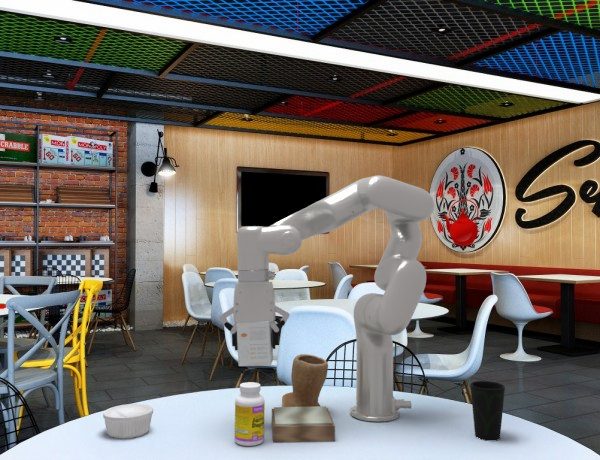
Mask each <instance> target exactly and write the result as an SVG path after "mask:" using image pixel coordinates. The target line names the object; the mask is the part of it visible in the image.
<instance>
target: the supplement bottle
mask: <svg viewBox="0 0 600 460" xmlns="http://www.w3.org/2000/svg"><path fill="white" fill-rule="evenodd" d="M239 392H240V394H239V395H238V396H236V398H235V400H234V442H235V443H236V444H237V445H240V446H242V447H243V446H244V447H254V446H255V447H256V446H258V445H260V444H262V443H263V442H264V440H265V407H266V406H265V398H264V396H263V395H261V394H260V392H261V384H260V383H259V382H253V381H252V382H250V381H248V382H242V383H240V384H239Z"/></svg>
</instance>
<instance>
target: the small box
mask: <svg viewBox="0 0 600 460" xmlns="http://www.w3.org/2000/svg"><path fill="white" fill-rule="evenodd" d="M236 326H237V345H238V350H237V360H238V361H237V363H238V364H237V365H238V367H255V366H256V367H257V366H260V367H261V366H271V365H272V363H273V361H274V349H273V347H272V331H273V329H272V327H271V326H270V323H269V321H265V322H250V323H236Z"/></svg>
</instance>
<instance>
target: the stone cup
mask: <svg viewBox="0 0 600 460" xmlns="http://www.w3.org/2000/svg"><path fill="white" fill-rule="evenodd" d="M291 365H292V366H291V376H290V379H291V386H292V391H291V392H287V393H285V394H283V395H282V397H281V402H282V407H320V406H321V405H320V403H319V397H320V394H321V391H322V389H323V387H324V384H325V382H326V380H327V377H328V368H329V363H328V361H327V359H324V358H322V357H321V356H317V355H313V354H307V353H304V354H303V353H302V354H301V353H300V354H297V355H296V356H295V357H294V358H293V361H292V364H291Z"/></svg>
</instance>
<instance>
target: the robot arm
mask: <svg viewBox="0 0 600 460" xmlns="http://www.w3.org/2000/svg"><path fill="white" fill-rule="evenodd" d="M373 210H383V211H384V214H385V216H386V218H387V220H388V221H387V222H388V223H389V226H390V237H389V240H388V243H387V244H386V248H385V249H384V252H383V254H382V256H381V258H380V261H379V262H378V264H377V267H376V269H375V272H374V277H373V279H374V282H375V285H376V286H377V287H378V288H379V289H380V290H382V291H383V292H384V293H383V294H381V293H373V292H371V293H367V294H366V293H365V294H363V295H362V296H361V297H359V298H358V300H357V301H356V302H355V305H354V308H353V322H354V327H355V328H354V329H355V338H356V362H355V363H356V369H355V370H356V371H355V372H356V378H355V379H356V380H355V381H356V382H355V383H356V385H355V387H356V389H355V390H356V391H355V394H356V397H355V399H356V400H355V402H356V403H355V405H353V406H352V407H351V408H350V409H349V410H350V411H349V412H350V415H351V416H352V417H353V418H355V419H357V420H361V421H365V422H376V423H377V422H378V423H381V422H389V421H394V420H397V418H398V417H400V411H399V410H400V409H412V402H411V400H404V398H403V399H401V398H399V399H396V398H395V397H394V344H393V343H394V342H393V337H392V336H395V335H396V336H397V335H400V334H401V333H402V332H403V331H404V330H406V328H407V327H408V326H409V324H410V322H411V320H412V318H413V316H414V313H415V311H416V309H417V307H418V304H419V302H420V300H421V298H422V295H423V293H424V290H425V288H426V285H427V284H426V283H427V272H426V269H425V267H424V265H423V264H422V263H421V262H420V261H419V260H417V258H418V255H419V253H420V250H421V248H422V244H423V235H422V231H421V227H420V223H421V222H424V221H426V220H427V219H429V218H430V217H431V216H432V215H433V212H434V210H435V201H434V199H433V197H432V195H431V194H430V193H429V192H428V191H427V190H426V189H423V188H421V187H419V186H416V185H413V184H410V183H406V182H404V181H401V180H398V179H394V178H391V177H388V176H384V175H378V174H377V175H373V176H368V177H363V178H360V179H358V180H356V181H353V182H351V183H350V184H348V185H347V186H344V187H343V188H341V189H339V190H338V191H336V192H334V193H332V194H329V195H328V196H326V197H324V198H322V199H320V200H318V201H315V202H314V203H312V204H310V205H308V206H307V207H305V208H302V209H300V210H299V211H296V212H294V213H292V214H290V215H288V216H287V217H284V218H282V219H280V220H279V221H276V222H274V223H273V224H271V225H269V226H262V225H261V226H259V225H257V226H256V225H253V226H249V225H248V226H241V227H239V228H238V229H237V232H236V244H237V245H236V249H237V282H236V283H235V284H234V291H233V306H232V307H231V308H229V309H228V310H225V312H223V313H221V314H220V315H219V317H218V318H219V320H220V321H221V323H222V324H223V326H224V328H225V329H227V330H228V331H229V332H230V333H231V344H232V345H231V347H234V350H235V351H238V345H237V326H236V323H250V322H265V321H269V323H270V326H271V327H272V347H273V350H276V346H278V345H279V331H280V330H281V329H282V328H283V327H284V326H285V325H286V322H287V321H288V319H289V318H290V313H289V312H288V311H286V310H284V309H282V308H281V307H279V306H277V305H276V299H275V297H276V296H275V290H274V285H273V281H270V279H271V278H275V277H276V274H275V273H276V272H275V271H272V270H270V269H269V268H270V261H269V259H270V258H269V255H276V256H290V255H293V254H295V253H297V251H299V249H300V248H301V246H302V244H303V241H304V240H306V239H309V238H311V237H315V236H317V235H322V234H326V233H330V232H332V231H335V230H338V229H340V228H342V227H344V226H345V225H348V224H349V223H351V222H352V221H354V220H355V219H357V218H359V217H362V216H364V215H365V214H367V213H369V212H370V211H373ZM276 313H277V314H279V315H281V316H282V317H281V320H280V321H279V322H278V323H276V322H275V320H276ZM230 316H233V322H234V324H232V323H230V321H229V320H228V317H230Z"/></svg>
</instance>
